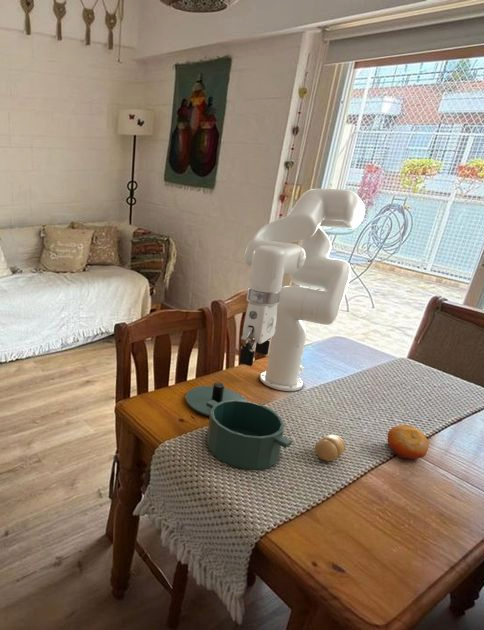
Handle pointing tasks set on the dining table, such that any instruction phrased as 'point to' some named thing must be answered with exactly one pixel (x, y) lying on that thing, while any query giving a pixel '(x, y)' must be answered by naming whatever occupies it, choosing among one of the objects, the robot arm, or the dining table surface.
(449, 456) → the dining table surface
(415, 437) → the fruit
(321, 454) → the tan rounded piece
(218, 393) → the lid
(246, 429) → the pot
